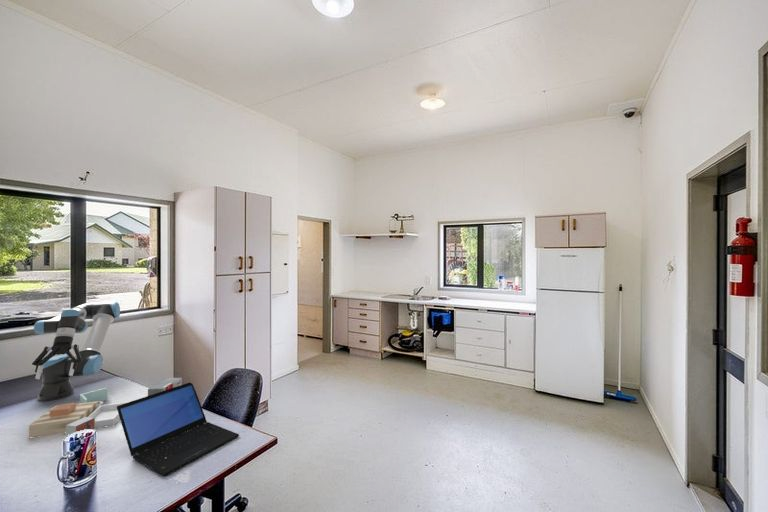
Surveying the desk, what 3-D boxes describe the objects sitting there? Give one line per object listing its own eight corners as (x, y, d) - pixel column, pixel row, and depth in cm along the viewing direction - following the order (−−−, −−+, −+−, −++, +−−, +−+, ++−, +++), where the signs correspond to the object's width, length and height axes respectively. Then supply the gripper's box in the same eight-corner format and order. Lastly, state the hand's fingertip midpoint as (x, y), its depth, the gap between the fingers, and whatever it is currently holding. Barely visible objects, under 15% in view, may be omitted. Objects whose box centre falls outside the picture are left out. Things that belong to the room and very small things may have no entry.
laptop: (163, 479, 125) (163, 428, 125) (115, 451, 143) (115, 406, 143) (240, 437, 154) (239, 395, 154) (192, 418, 172) (192, 380, 172)
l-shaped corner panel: (85, 413, 177) (85, 399, 177) (79, 407, 184) (79, 394, 184) (113, 405, 187) (113, 392, 187) (107, 400, 194) (107, 387, 194)
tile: (58, 410, 167) (58, 404, 167) (75, 408, 169) (75, 402, 169) (49, 417, 160) (49, 410, 160) (68, 414, 163) (68, 408, 163)
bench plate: (54, 418, 171) (54, 406, 171) (97, 412, 177) (97, 401, 177) (28, 438, 152) (28, 425, 152) (78, 431, 159) (78, 418, 159)
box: (99, 412, 178) (99, 405, 178) (129, 408, 182) (129, 401, 182) (80, 430, 159) (80, 423, 159) (113, 425, 164) (113, 418, 164)
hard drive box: (163, 430, 159) (162, 389, 159) (147, 430, 159) (146, 389, 159) (182, 415, 174) (182, 377, 174) (168, 415, 174) (167, 377, 174)
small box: (75, 450, 143) (75, 426, 143) (65, 449, 144) (65, 425, 144) (95, 440, 150) (95, 417, 150) (85, 439, 152) (85, 416, 152)
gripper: (30, 337, 176) (18, 379, 167) (89, 333, 184) (80, 373, 175) (38, 340, 182) (27, 381, 173) (95, 336, 191) (87, 375, 181)
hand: (54, 377), depth 174 cm, fingers open, 13 cm apart
